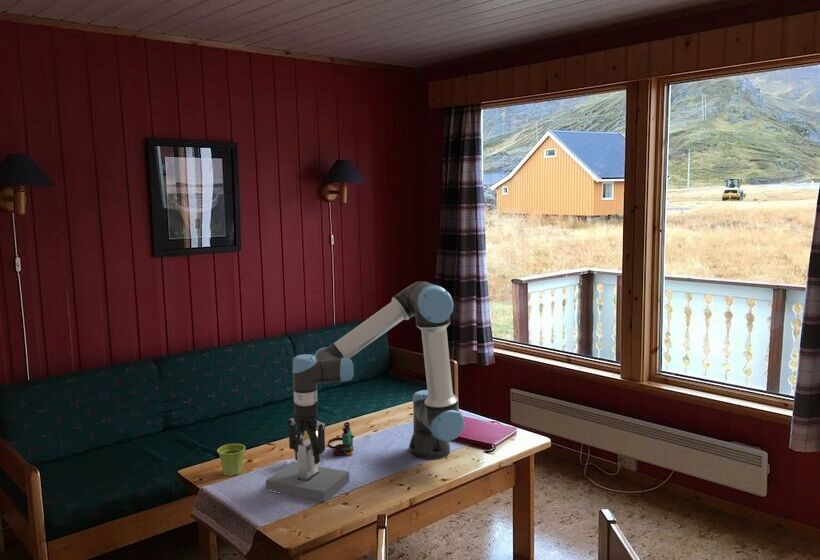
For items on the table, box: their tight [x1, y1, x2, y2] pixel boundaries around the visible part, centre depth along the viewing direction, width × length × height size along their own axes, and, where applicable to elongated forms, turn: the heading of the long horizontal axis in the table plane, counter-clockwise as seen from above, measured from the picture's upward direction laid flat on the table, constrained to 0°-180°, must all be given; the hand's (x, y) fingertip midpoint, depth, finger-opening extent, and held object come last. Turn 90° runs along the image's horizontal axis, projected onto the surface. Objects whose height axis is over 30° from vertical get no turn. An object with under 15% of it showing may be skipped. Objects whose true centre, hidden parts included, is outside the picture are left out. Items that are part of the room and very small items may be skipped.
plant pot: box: [216, 443, 246, 477], centre depth 235 cm, size 9×9×9 cm
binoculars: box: [327, 421, 355, 456], centre depth 252 cm, size 9×11×10 cm
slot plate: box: [265, 461, 350, 503], centre depth 224 cm, size 22×16×4 cm
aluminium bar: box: [298, 439, 317, 482], centre depth 223 cm, size 3×6×15 cm, turn 156°
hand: (307, 471), depth 224 cm, fingers open, 5 cm apart
